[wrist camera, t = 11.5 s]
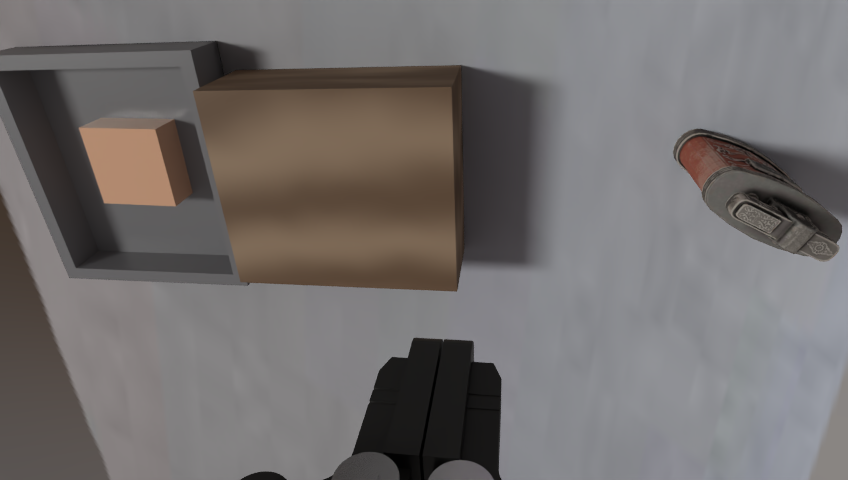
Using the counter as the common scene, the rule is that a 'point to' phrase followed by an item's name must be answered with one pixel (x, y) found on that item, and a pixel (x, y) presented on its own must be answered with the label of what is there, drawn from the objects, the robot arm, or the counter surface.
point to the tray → (72, 172)
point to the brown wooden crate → (340, 174)
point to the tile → (137, 161)
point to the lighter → (757, 195)
